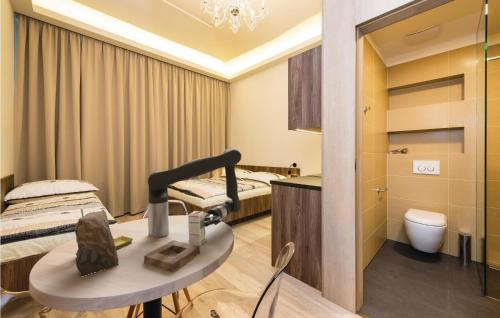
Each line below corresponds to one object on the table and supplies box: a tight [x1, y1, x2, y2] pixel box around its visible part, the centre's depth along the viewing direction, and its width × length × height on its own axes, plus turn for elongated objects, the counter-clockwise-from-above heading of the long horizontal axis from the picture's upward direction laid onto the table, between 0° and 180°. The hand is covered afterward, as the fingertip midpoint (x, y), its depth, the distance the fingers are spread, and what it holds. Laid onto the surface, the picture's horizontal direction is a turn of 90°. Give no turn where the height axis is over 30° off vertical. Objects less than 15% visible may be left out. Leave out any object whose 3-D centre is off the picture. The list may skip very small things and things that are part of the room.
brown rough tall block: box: [74, 209, 119, 277], centre depth 78 cm, size 13×13×20 cm
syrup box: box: [187, 210, 206, 246], centre depth 97 cm, size 6×6×14 cm
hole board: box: [143, 239, 201, 273], centre depth 83 cm, size 15×15×3 cm
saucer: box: [113, 235, 134, 249], centre depth 97 cm, size 9×9×2 cm
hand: (198, 223), depth 97 cm, fingers open, 8 cm apart
